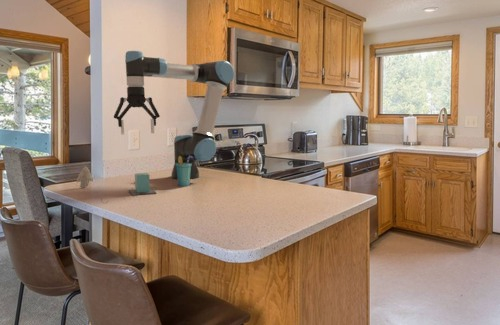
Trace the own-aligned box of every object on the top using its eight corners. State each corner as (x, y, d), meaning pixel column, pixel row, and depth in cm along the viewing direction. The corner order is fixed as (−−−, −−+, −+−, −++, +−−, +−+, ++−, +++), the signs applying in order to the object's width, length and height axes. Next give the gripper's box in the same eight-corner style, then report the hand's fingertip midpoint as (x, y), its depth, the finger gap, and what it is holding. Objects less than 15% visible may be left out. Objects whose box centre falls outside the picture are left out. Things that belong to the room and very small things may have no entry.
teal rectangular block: (147, 189, 176) (146, 173, 175) (149, 191, 171) (149, 174, 170) (135, 190, 173) (134, 173, 172) (137, 192, 169) (137, 175, 168)
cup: (200, 186, 188) (200, 155, 186) (187, 188, 182) (187, 156, 181) (182, 183, 197) (182, 153, 196) (169, 184, 192) (169, 154, 190)
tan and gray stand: (151, 189, 179) (151, 174, 178) (156, 193, 170) (156, 177, 169) (128, 191, 175) (128, 175, 174) (132, 195, 166) (132, 179, 165)
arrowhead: (78, 189, 179) (77, 167, 177) (75, 188, 180) (74, 167, 179) (94, 187, 184) (93, 166, 183) (92, 186, 186) (91, 165, 185)
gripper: (160, 87, 186) (162, 132, 189) (105, 86, 174) (108, 134, 177) (165, 86, 179) (167, 132, 182) (107, 85, 167) (110, 135, 170)
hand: (138, 133), depth 180 cm, fingers open, 13 cm apart
